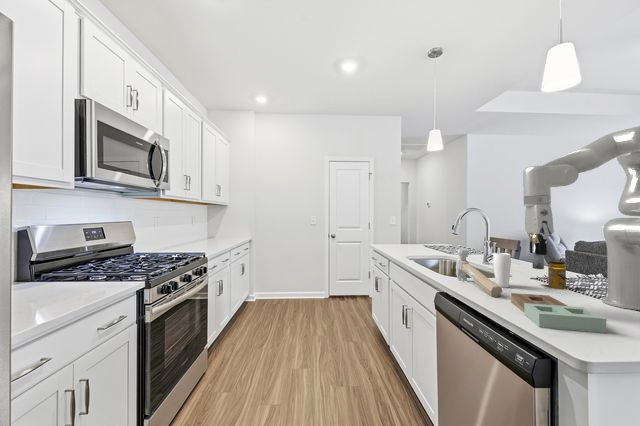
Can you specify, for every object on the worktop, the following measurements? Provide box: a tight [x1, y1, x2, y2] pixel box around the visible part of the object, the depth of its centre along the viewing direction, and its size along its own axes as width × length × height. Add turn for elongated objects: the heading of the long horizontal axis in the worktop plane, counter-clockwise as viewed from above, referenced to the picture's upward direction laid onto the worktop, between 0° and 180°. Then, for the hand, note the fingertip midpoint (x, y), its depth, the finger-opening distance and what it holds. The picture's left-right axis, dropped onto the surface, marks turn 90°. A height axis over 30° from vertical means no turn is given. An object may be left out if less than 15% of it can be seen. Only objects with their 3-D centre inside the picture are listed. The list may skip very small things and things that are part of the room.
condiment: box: [540, 259, 570, 291], centre depth 126 cm, size 7×8×12 cm
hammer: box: [455, 247, 503, 298], centre depth 126 cm, size 16×5×30 cm
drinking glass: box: [492, 252, 512, 289], centre depth 128 cm, size 7×7×15 cm
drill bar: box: [531, 234, 545, 270], centre depth 98 cm, size 3×3×12 cm
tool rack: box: [523, 303, 607, 334], centre depth 85 cm, size 16×10×4 cm, turn 74°
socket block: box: [510, 292, 568, 313], centre depth 98 cm, size 12×12×4 cm
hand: (538, 253), depth 98 cm, fingers closed on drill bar, 3 cm apart
